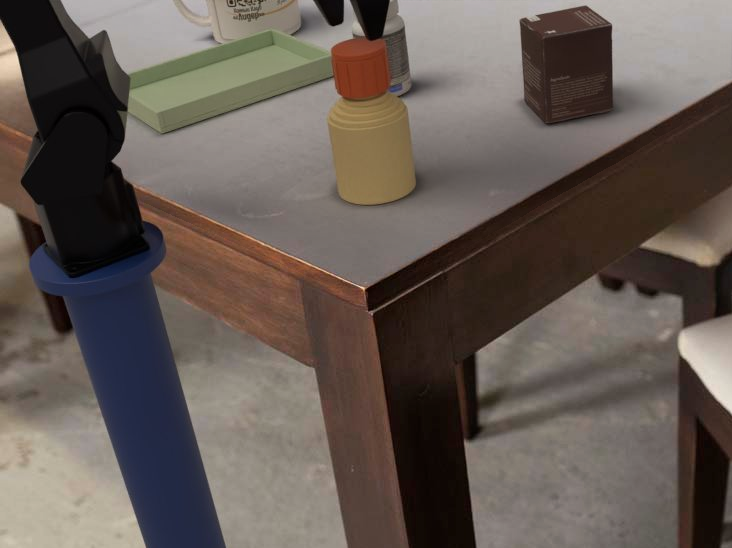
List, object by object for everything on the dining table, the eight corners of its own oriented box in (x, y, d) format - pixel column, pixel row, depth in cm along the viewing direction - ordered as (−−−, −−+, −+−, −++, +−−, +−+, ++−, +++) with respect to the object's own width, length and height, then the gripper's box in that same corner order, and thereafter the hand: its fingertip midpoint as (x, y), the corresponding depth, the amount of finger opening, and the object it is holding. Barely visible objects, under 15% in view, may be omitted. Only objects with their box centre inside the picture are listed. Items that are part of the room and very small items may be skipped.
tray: (161, 134, 100) (156, 112, 99) (109, 99, 109) (104, 80, 108) (339, 74, 107) (336, 53, 106) (276, 46, 117) (273, 27, 116)
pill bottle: (413, 79, 104) (403, -12, 99) (409, 97, 100) (399, 3, 95) (363, 83, 104) (351, -7, 100) (357, 102, 100) (344, 8, 96)
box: (614, 112, 91) (614, 23, 87) (544, 126, 91) (541, 37, 87) (589, 88, 96) (587, 3, 92) (522, 101, 96) (518, 16, 92)
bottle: (380, 211, 82) (361, 72, 76) (322, 194, 85) (300, 61, 79) (431, 180, 85) (418, 45, 79) (374, 165, 89) (357, 35, 83)
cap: (365, 101, 78) (359, 59, 76) (325, 93, 81) (319, 51, 79) (401, 83, 80) (397, 40, 79) (362, 75, 83) (356, 34, 81)
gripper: (517, -235, 66) (528, 27, 75) (353, -241, 79) (379, -18, 88) (360, -200, 61) (391, 73, 70) (214, -213, 75) (256, 18, 84)
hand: (355, 31), depth 78 cm, fingers open, 5 cm apart
